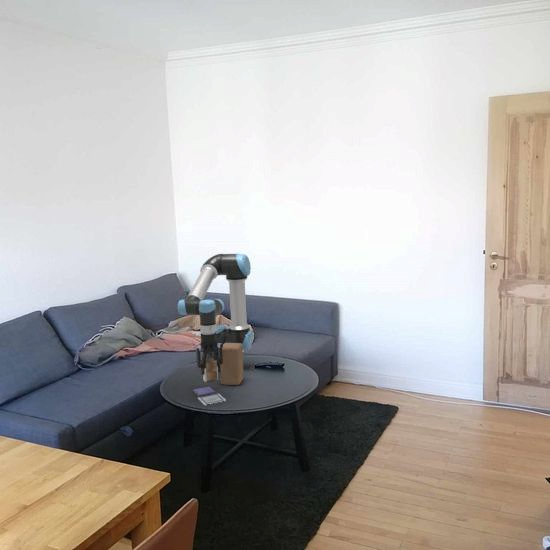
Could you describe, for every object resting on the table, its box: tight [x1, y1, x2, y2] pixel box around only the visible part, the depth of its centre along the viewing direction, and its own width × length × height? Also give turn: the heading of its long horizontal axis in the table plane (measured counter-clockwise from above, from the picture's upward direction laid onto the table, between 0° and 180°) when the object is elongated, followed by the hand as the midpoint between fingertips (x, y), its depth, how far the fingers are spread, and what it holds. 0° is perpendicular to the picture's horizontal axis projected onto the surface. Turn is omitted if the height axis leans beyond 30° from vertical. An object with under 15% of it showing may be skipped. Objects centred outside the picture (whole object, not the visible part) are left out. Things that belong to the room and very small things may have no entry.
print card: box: [197, 393, 227, 406], centre depth 279 cm, size 11×10×1 cm
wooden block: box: [220, 343, 245, 386], centre depth 300 cm, size 10×10×20 cm
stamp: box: [205, 358, 219, 384], centre depth 276 cm, size 5×5×10 cm
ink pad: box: [192, 386, 217, 398], centre depth 288 cm, size 9×9×1 cm
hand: (210, 379), depth 277 cm, fingers closed on stamp, 5 cm apart
